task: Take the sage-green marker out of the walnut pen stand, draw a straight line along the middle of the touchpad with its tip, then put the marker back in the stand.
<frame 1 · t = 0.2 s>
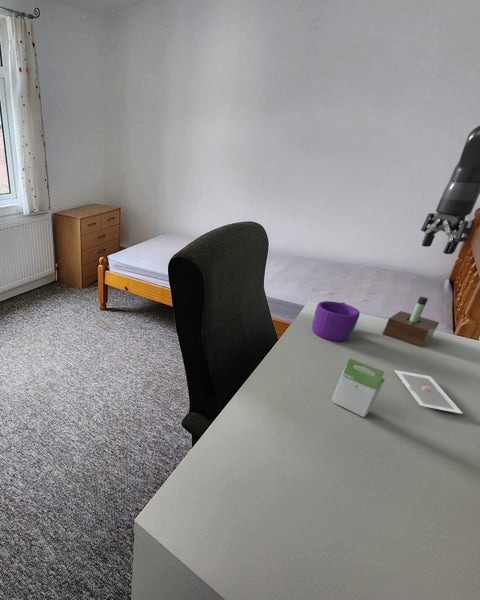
hand: (436, 249, 108), 27 cm above the table, tool pointing down, fingers open, 8 cm apart
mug: (331, 331, 116), on the table
marker: (415, 317, 109), in the pen stand
touchpad: (423, 394, 87), on the table
pen stand: (406, 336, 112), on the table
ink box: (350, 407, 83), on the table
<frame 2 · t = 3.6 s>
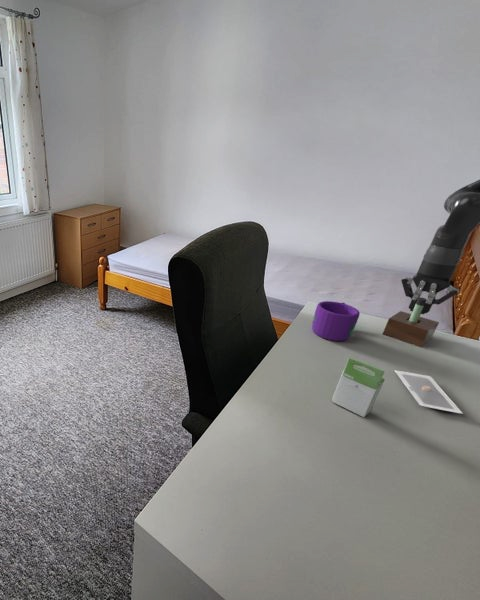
hand: (417, 311, 108), 9 cm above the table, tool pointing down, fingers closed on marker, 2 cm apart
marker: (414, 318, 109), in the pen stand, touching gripper
everything else where it was.
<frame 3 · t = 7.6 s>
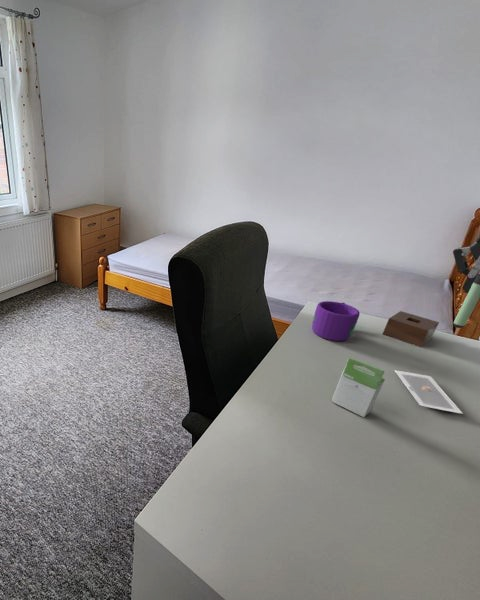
hand: (474, 293, 80), 26 cm above the table, tool pointing down, fingers closed on marker, 2 cm apart
marker: (470, 302, 81), point 24 cm above the table, touching gripper
everything else where it was.
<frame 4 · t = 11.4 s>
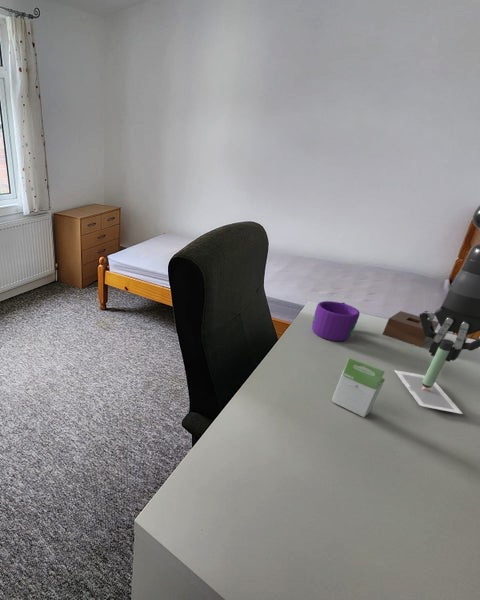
hand: (440, 357, 81), 11 cm above the table, tool pointing down, fingers closed on marker, 2 cm apart
marker: (436, 365, 82), point 9 cm above the table, tilted 7°, touching gripper
everything else where it was.
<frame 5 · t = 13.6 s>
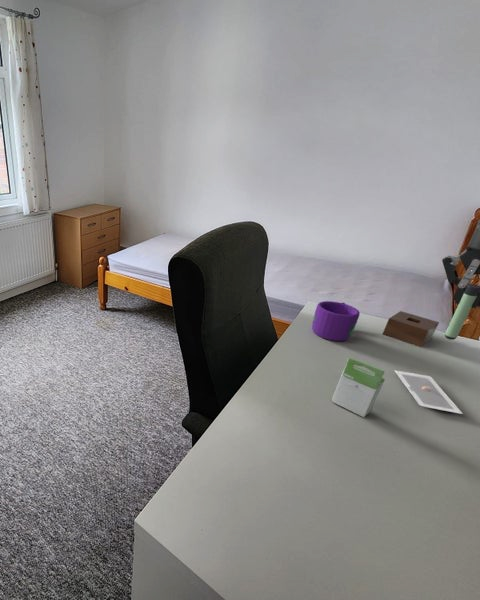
hand: (465, 304, 76), 26 cm above the table, tool pointing down, fingers closed on marker, 2 cm apart
marker: (461, 313, 76), point 23 cm above the table, tilted 7°, touching gripper
everything else where it was.
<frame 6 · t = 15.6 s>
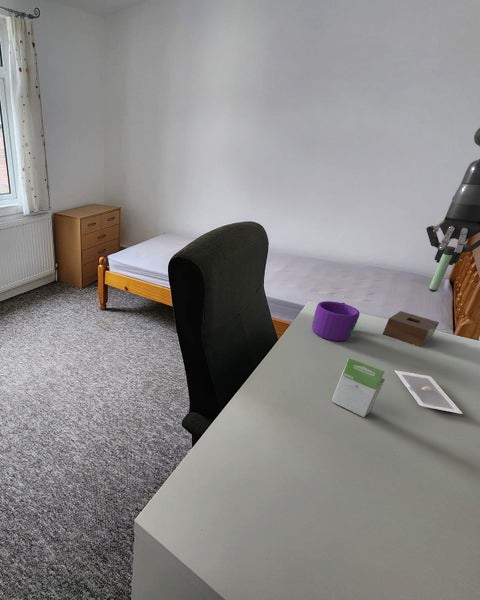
hand: (444, 263, 97), 27 cm above the table, tool pointing down, fingers closed on marker, 2 cm apart
marker: (441, 270, 98), point 25 cm above the table, tilted 7°, touching gripper
everything else where it was.
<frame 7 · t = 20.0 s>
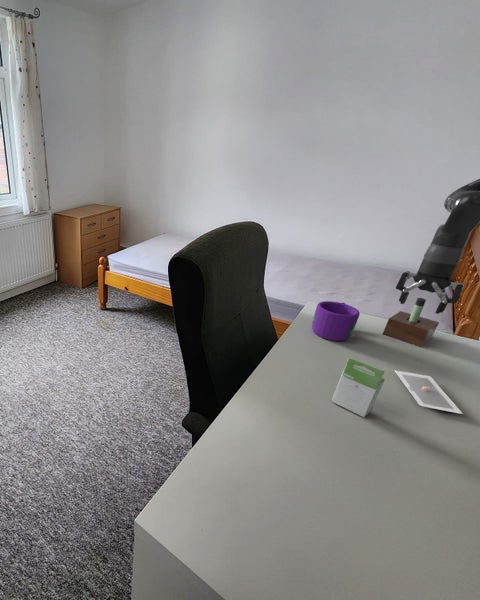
hand: (419, 308, 108), 10 cm above the table, tool pointing down, fingers open, 8 cm apart
marker: (414, 318, 109), in the pen stand, tilted 8°
everything else where it was.
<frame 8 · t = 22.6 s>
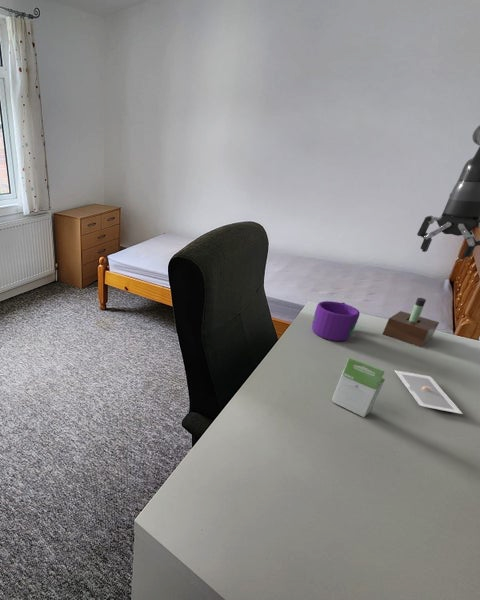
hand: (443, 254, 100), 28 cm above the table, tool pointing down, fingers open, 8 cm apart
nothing on the table moved.
at the end: marker 0.3 cm off-centre in the pen stand, point 6.9 cm above the pen stand's base; marker tilted 8°; touchpad moved 0.2 cm from its start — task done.
